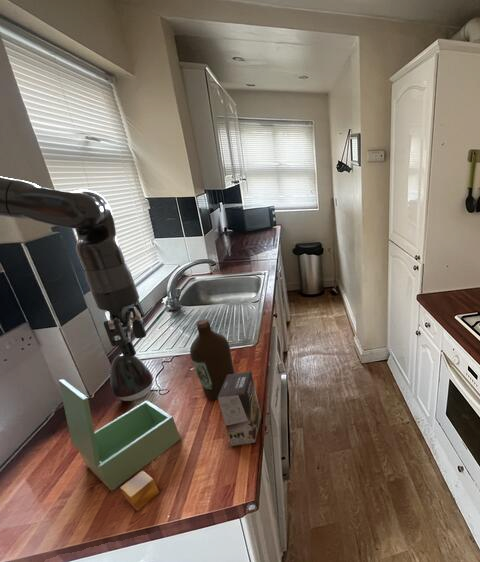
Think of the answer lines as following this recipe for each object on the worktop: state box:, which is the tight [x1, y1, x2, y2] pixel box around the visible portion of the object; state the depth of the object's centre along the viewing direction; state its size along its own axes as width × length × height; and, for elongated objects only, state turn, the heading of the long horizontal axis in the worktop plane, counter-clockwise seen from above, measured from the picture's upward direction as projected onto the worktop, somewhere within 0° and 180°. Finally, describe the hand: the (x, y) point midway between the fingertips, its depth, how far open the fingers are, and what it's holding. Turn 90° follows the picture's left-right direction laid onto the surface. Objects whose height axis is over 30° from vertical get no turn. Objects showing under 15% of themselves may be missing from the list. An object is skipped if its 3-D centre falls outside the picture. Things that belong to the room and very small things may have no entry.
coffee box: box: [217, 370, 262, 447], centre depth 80 cm, size 9×6×16 cm
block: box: [120, 469, 160, 512], centre depth 67 cm, size 4×4×4 cm
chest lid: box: [58, 378, 100, 467], centre depth 67 cm, size 16×13×1 cm
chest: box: [78, 400, 182, 492], centre depth 77 cm, size 16×13×8 cm
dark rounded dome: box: [109, 353, 154, 402], centre depth 95 cm, size 10×10×15 cm
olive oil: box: [189, 318, 235, 401], centre depth 94 cm, size 11×11×25 cm
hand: (136, 346), depth 74 cm, fingers open, 8 cm apart
